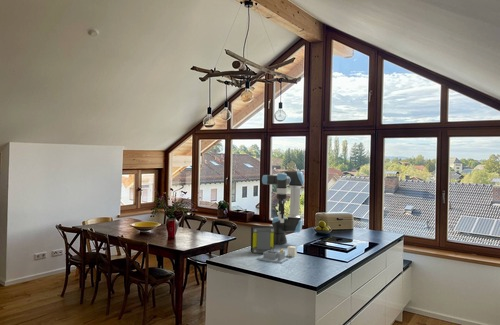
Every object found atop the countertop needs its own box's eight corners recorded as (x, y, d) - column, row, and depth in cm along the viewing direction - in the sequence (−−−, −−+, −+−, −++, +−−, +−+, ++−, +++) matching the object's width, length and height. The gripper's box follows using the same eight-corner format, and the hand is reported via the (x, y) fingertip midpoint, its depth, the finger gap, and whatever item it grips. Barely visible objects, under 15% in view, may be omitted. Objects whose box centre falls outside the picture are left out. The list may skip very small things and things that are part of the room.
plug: (289, 254, 287) (289, 245, 287) (296, 255, 285) (296, 246, 285) (287, 255, 284) (287, 246, 283) (294, 257, 281) (294, 247, 281)
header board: (264, 255, 282) (264, 244, 282) (288, 259, 273) (288, 248, 273) (257, 259, 272) (257, 247, 272) (281, 263, 262) (282, 251, 262)
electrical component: (252, 253, 288) (253, 228, 288) (250, 250, 298) (250, 226, 298) (274, 253, 291) (274, 228, 291) (271, 250, 301) (271, 225, 301)
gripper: (275, 192, 294) (274, 218, 294) (278, 195, 269) (277, 224, 269) (284, 192, 294) (283, 218, 295) (288, 195, 269) (288, 224, 270)
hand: (281, 221), depth 282 cm, fingers open, 13 cm apart
